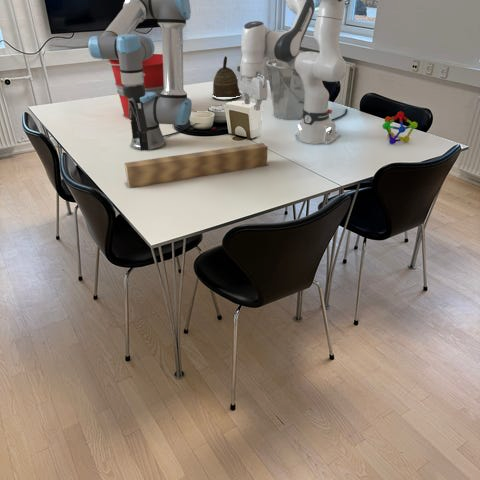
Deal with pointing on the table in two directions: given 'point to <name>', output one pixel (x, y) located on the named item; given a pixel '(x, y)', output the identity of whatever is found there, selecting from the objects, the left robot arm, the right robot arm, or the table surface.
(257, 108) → the right robot arm
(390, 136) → the educational toy
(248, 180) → the table surface
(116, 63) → the bucket
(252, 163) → the beam
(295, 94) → the bucket
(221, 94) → the bell
